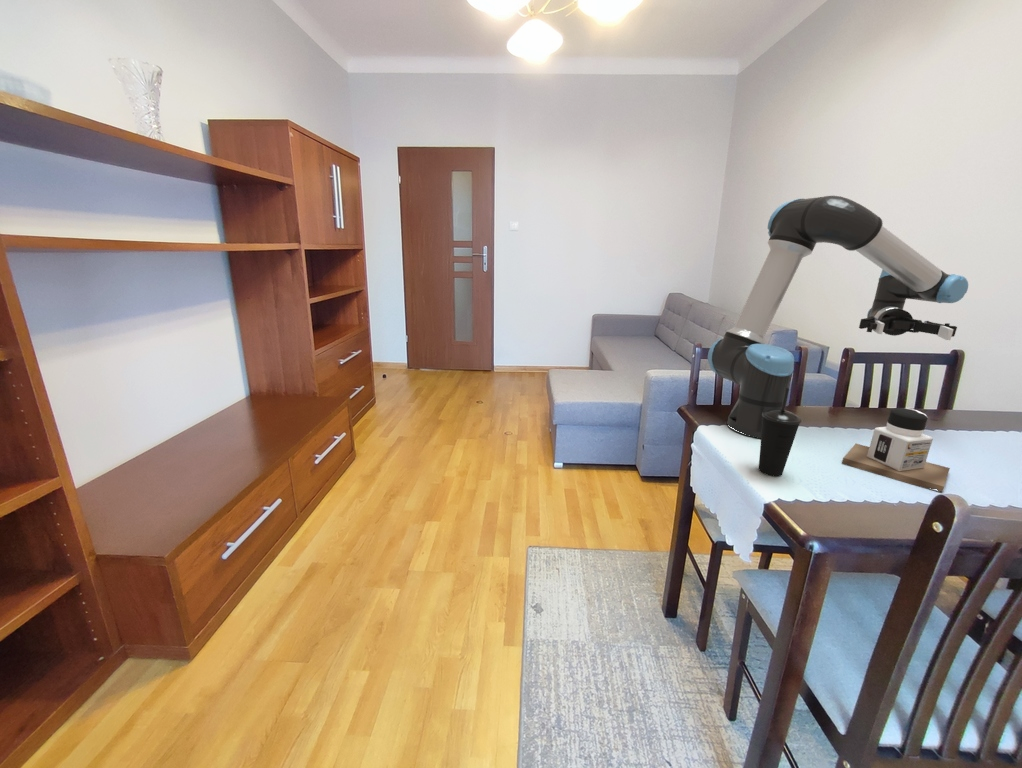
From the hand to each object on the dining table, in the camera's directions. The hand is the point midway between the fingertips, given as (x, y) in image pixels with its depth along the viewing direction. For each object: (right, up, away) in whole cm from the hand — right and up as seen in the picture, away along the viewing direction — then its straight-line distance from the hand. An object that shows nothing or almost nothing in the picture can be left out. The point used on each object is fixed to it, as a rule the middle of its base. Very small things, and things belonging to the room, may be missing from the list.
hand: (914, 331), depth 115 cm
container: (-12, -32, -8) cm, 35 cm away
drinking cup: (-42, -33, -10) cm, 55 cm away
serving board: (-11, -33, -7) cm, 36 cm away
